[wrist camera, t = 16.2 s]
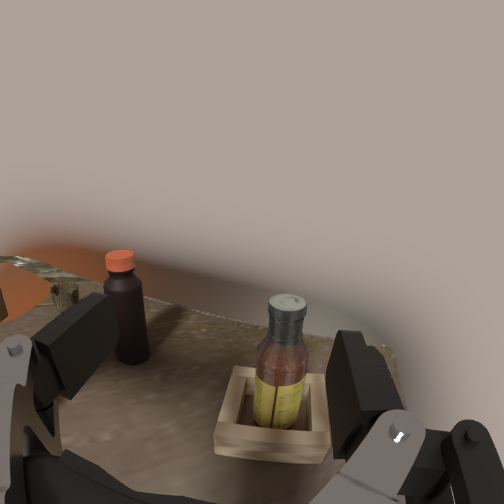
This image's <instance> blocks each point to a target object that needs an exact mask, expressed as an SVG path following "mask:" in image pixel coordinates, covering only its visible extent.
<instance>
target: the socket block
mask: <svg viewBox="0 0 504 504" xmlns="http://www.w3.org/2000/svg"><path fill="white" fill-rule="evenodd" d="M254 387H255V368H250V367H243V366H236V365H234V367H233V371H232V374H231V378H230V381H229V384H228V388H227V391H226V394H225V398H224V401H223V404H222V408H221V411H220V414H219V417H218V421H217V424H216V427H215V431H214V434H213V435H214V454H219V455H225V456H231V457H237V458H244V459H252V460H260V461H270V462H282V463H299V464H321V463H322V461H323V459H324V457H325V455H326V453H327V452H328V450H329V448H330V446H331V442H330V430H329V419H328V408H327V399H326V389H325V381H324V374H311V373H306V378H305V383H304V388H303V393H302V399H301V403H300V408H299V413H298V417H297V420H296V422H295V425H294V426H293V428H292V429H291V430H282V429H271V428H262V427H256V424H255V421H254V417H253V405H254Z"/></svg>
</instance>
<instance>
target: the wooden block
mask: <svg viewBox="0 0 504 504" xmlns="http://www.w3.org/2000/svg"><path fill="white" fill-rule="evenodd" d="M7 316H8V313H7V309H6V306H5V302H4V299H3V295H2V291H1V288H0V322H1V321H2V320H4V319H5V318H6V317H7Z"/></svg>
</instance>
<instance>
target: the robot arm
mask: <svg viewBox="0 0 504 504" xmlns="http://www.w3.org/2000/svg"><path fill="white" fill-rule="evenodd" d="M118 340H119V327H118V321H117V315H116V309H115V302H114V299H113V298H112V296H109V295H105V294H100V293H96V292H93V293H91V294H90V295H89V296H87V297H86V298H85V299H83V300H82V301H81V302H79V303H77V304H75V305H73V306H70V307H69V308H68V309H66V310H65V311H64V312H62V314H61V315H59V316H57V317H56V318H55V320H52V321H51V322H50V323H48V324H47V325H46V326H45V327H43V328H42V329H41V330H40V331H39V332H37V333H36V334H35V335H34V336H32V337H31V338H28V337H26V336H23V335H16V336H12V337H9V338H7V339H5V340H4V341H3V342H2V343H1V344H0V504H216V503H211V502H206V501H201V500H197V499H193V498H189V497H185V496H173V495H161V494H152V493H144V492H137V491H134V490H132V489H130V488H128V487H127V486H125V485H124V484H123V483H121V482H120V481H118V480H117V479H115V478H114V477H113V476H111V475H110V474H109V473H107V472H106V471H105V470H103V469H102V468H101V467H99V466H98V465H96V464H94V463H92V462H90V461H88V460H86V459H84V458H82V457H80V456H78V455H76V454H74V453H73V452H71V451H69V450H67V449H65V450H64V451H63V449H62V445H61V439H60V427H59V410H58V402H57V400H56V397H57V396H58V395H61V396H63V397H65V398H67V399H69V400H72V398H73V397H74V396H75V395H76V393H77V392H78V391H79V390H80V388H81V387H82V386H83V385H84V384H85V382H86V381H87V380H88V379H89V378H90V376H91V375H92V374H93V373H94V372H95V370H96V369H97V368H98V367H99V366H100V364H101V363H102V362H103V361H104V360H105V358H106V357H107V356H108V355H109V354H110V353H111V351H112V350H113V349H114V348H115V347H116V345H117V343H118ZM387 367H388V366H387V364H386V361H385V359H384V357H383V355H382V354H381V353H380V352H379V351H378V350H377V349H376V348H375V347H374V346H367V345H366V343H365V340H364V338H363V335H362V333H361V332H360V331H347V330H339V331H338V332H337V334H336V338H335V341H334V345H333V348H332V352H331V355H330V359H329V362H328V365H327V370H326V389H327V397H328V406H329V415H330V424H331V435H332V445H333V457H334V459H345V460H346V464H345V465H344V466H343V468H342V469H341V470H340V471H339V472H337V473H336V475H335V476H334V477H333V478H332V479H331V480H330V481H329V482H328V484H327V485H326V486H325V487H324V488H323V489H322V490H321V491H320V492H319V493H318V494H317V496H316V497H315V498H314V499H313V500H312V501H311V502H310V503H309V504H397V503H398V501H397V500H395V497H396V495H405V499H406V504H454V500H455V504H504V469H503V466H502V463H501V461H500V458H499V455H498V453H497V450H496V448H495V446H494V443H493V441H492V439H491V436H490V434H489V432H488V430H487V429H486V428H485V427H484V426H483V425H482V424H481V423H479V422H477V421H474V420H462V421H460V422H458V423H457V424H456V425H455V426H454V428H453V429H452V430H451V432H445V431H438V430H430V429H425V427H424V424H423V422H422V421H421V420H420V419H419V418H418V417H417V416H416V415H414V414H413V413H411V412H408V411H405V410H404V408H403V405H402V402H401V400H400V397H399V394H398V392H397V389H396V386H395V384H394V381H393V379H392V378H391V374H390V371H389V369H387ZM451 486H452V491H453V495H454V500H453V496H452V491H451Z"/></svg>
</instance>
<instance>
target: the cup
mask: <svg viewBox="0 0 504 504" xmlns="http://www.w3.org/2000/svg"><path fill="white" fill-rule="evenodd" d="M69 284H70V285H69ZM50 289H51V291H50V292H51V296H52V299H53V302H54V305H55V307H56V309H57V310H58V311H59V312H60V313H62V312H64V311H65V310H66V309H68V308H69V307H70V306H73V305H75V304H77V303H79V292H78V284H77V283H76V282H74V283H72V281H70V283H68V281H66V282H64V281H63V282H62V284H61V285H60V284H59V283H58V285H54V284H53V286H52V287H50Z"/></svg>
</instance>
